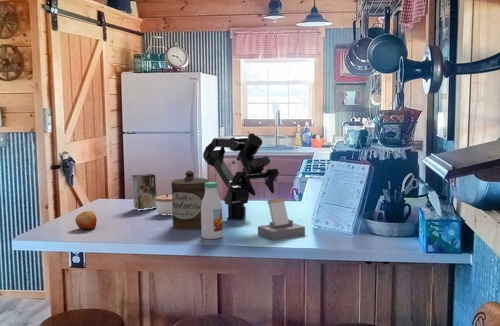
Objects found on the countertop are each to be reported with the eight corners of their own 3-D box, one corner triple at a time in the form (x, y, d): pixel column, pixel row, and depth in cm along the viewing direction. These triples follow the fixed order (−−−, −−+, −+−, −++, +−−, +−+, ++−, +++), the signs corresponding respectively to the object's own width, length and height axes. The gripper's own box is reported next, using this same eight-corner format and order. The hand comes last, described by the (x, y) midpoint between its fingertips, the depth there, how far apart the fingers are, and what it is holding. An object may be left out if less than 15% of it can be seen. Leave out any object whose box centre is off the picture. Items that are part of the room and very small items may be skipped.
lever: (272, 227, 197) (267, 200, 198) (286, 225, 200) (280, 199, 201) (275, 226, 195) (270, 199, 197) (289, 224, 198) (284, 197, 200)
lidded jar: (151, 214, 238) (150, 193, 236) (172, 210, 244) (171, 190, 243) (162, 218, 229) (161, 196, 228) (184, 214, 236) (183, 193, 234)
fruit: (104, 222, 216) (97, 207, 211) (94, 236, 210) (87, 221, 206) (87, 221, 219) (79, 206, 214) (77, 235, 213) (69, 220, 208)
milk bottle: (206, 240, 191) (205, 185, 188) (198, 236, 197) (196, 182, 195) (226, 237, 194) (225, 183, 192) (217, 233, 201) (216, 180, 199)
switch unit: (258, 234, 198) (257, 221, 198) (289, 229, 205) (289, 216, 205) (272, 240, 190) (272, 226, 189) (304, 234, 197) (304, 221, 196)
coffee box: (152, 206, 254) (151, 173, 252) (157, 209, 249) (155, 174, 247) (133, 209, 249) (132, 174, 248) (137, 211, 244) (136, 176, 242)
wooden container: (166, 228, 210) (164, 172, 208) (183, 220, 224) (181, 168, 222) (200, 231, 205) (198, 173, 203) (216, 222, 219) (214, 169, 217)
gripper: (235, 150, 204) (250, 183, 196) (276, 147, 214) (292, 179, 206) (225, 169, 212) (240, 201, 204) (265, 165, 221) (281, 196, 213)
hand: (264, 194), depth 206 cm, fingers open, 8 cm apart
